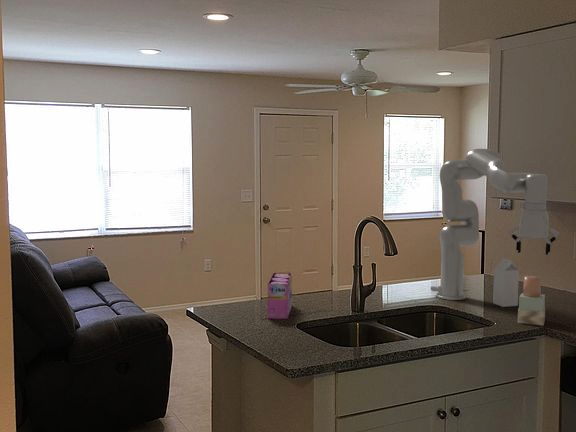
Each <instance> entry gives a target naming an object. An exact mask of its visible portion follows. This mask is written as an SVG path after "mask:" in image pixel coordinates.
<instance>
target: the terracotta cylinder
mask: <svg viewBox="0 0 576 432" xmlns="http://www.w3.org/2000/svg"><path fill="white" fill-rule="evenodd" d="M541 284H542V277H541V276H538V275H537V276H536V275H524V276H523V289H522V290H523V292H522V293H523V295H524V296H526V297H540V294H541V292H542V291H541V287H542V285H541Z"/></svg>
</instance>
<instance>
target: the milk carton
mask: <svg viewBox="0 0 576 432" xmlns="http://www.w3.org/2000/svg"><path fill="white" fill-rule="evenodd" d="M500 260H501V261H500V262H499V263H497V265H496V266H494V267H493V290H492V291H493V293H492V299H493V300H492V303H493V305H497V306H498V307H499V306H500V307H501V308H504V307H505V308H506V307H517V306H518V307H519V302H518V301H519V281H520V280H519V275H520V270H519V269H518V268H517V267H516V266H515V264H514V263H513V260H510V259H506V258H501V259H500Z"/></svg>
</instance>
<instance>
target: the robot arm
mask: <svg viewBox="0 0 576 432" xmlns="http://www.w3.org/2000/svg"><path fill="white" fill-rule="evenodd" d="M505 169H506V168H505V162H504V160H502V157H501V154H500V153H499V152H498V151H497V150H496V149H493V148H474V149H471V150H469V151H468V152H467V153H466V155H465V159H451V160H447V161H446V162H444V163H443V164H442V165H441V168H440V170H439V182H440V186H441V199H442V200H441V205H442V206H441V207H442V212H441V213H442V217H443V219H444V221H446V222H449V223H459V222H461V224H450V225H446V226H444V227H442V229H440V231H439V243H440V250H441V251H440V253H441V254H440V255H441V257H440V285H439V286H432V285H431V286H430V291H431V292H437V293H436V298H439V299H440V300H441V299H442V300H449V301H462V300H465V299H467V294H465V293H464V271H465V270H464V269H465V268H464V266H465V261H464V260H465V258H464V254H463V251H462V249H461V247H472V246H474V245H476V244H477V242H478V241H479V237H480V236H479V235H480V226H479V224H480V223H479V222H480V219H479V217H480V216H479V209H478V206H477V204H476V203H475V201H474V200H471V199H464V198H463V190H462V187H461V184H460V182H459V181H460V180H462V181H463V180H476V179H477V180H478V179H480V178H482V177H484V176H485V177H487V180H488V182H489V184H490V185H491V186H492V187H494V188H495V189H497V190H499V191H500V192H503V193H508V194H509V193H511V194H514V193H515V194H516V193H524V202H523V203H519V206H520V208H522V209H523V210H521V214H520V219H519V224H518V225H517V226H514V227H513V228H510V229H509V233H510V235H511V238H513V240H514V241H515V242H516V244H515V246H516V248H515V250H516V251H517V254H520V253H521V251H522V241H521V240H522V239H535V240H537V239H538V240H544V241H545V242H546V244H545V255H546V256H548V254H549V253H551V245H552V243H553V242H555V241H556V239H557V238H558V237H559V235H560V232H559V231H558V230H556V229H553V228H552V227H550V223H549V222H550V220H549V217H550V216H549V212H548V211H547V195H548V193H547V191H548V176H547V175H546V174H544V173H543V174H542V173H532V172H531V173H530V172H508V171H505ZM458 180H459V181H458ZM516 231H518V235H519V236H517V235H516V234H515V232H516ZM550 233H552V234H553V236H552V237H551V238H549V234H550Z"/></svg>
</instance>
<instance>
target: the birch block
mask: <svg viewBox="0 0 576 432" xmlns="http://www.w3.org/2000/svg"><path fill="white" fill-rule="evenodd" d="M545 319H546V307H544V309H543V311H542V312H535V311H526V310H519V308H518V309H517V324H524V323H525V325H536V326H544V324H545V321H546V320H545Z"/></svg>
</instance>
